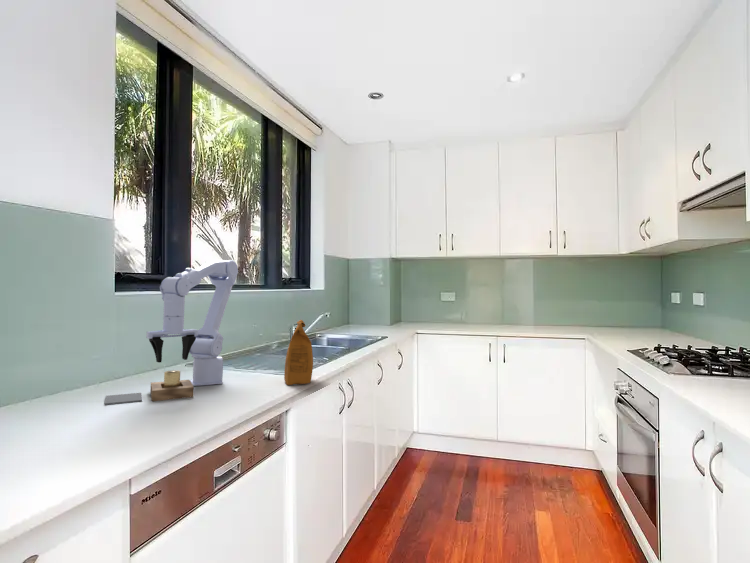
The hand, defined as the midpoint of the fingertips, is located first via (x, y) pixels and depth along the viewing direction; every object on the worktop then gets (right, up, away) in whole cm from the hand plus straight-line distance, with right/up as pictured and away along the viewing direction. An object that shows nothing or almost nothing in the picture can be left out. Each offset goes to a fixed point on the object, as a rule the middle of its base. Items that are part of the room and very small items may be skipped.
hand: (172, 360), depth 127 cm
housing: (0, -10, 0) cm, 10 cm away
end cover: (0, -10, 0) cm, 10 cm away
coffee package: (+35, -12, +22) cm, 43 cm away
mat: (-11, -10, -6) cm, 16 cm away
